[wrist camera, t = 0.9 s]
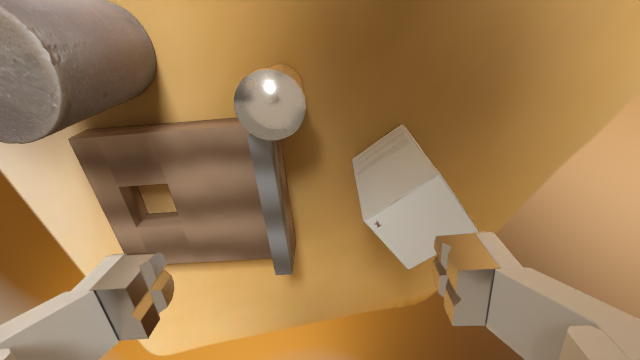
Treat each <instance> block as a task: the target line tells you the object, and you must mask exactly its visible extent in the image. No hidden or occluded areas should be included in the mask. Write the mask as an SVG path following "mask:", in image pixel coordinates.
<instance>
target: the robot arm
mask: <svg viewBox="0 0 640 360" xmlns="http://www.w3.org/2000/svg"><path fill="white" fill-rule="evenodd" d="M434 249H435V251H436V254H437V257H436V258H435V259H434V260H433V276H434V282H435V285H436V288H437V291H438V293H439V294H440V295H441V296H443V297H444V308H445V310H446V312H447V315H448V317H449V319H450V321H451V324H452V326H484V325H485V326H486V327H487V328H488V329H489V330H490V331H492V332H493V333H494V334H495V335H496V336H497V337H498V338H500V339H501V340H502V341H503V342H505V343H506V344H507V345H508V346H509V347H510V348H512V349H513V350H514V351H515V352H516V353H518V354H519V355H520V356H521V357H523V358H524V359H525V360H640V319H638V318H635V317H634V316H631V315H629V314H627V313H625V312H622V311H621V310H619V309H617V308H614V307H612V306H610V305H608V304H606V303H604V302H602V301H599V300H597V299H595V298H593V297H591V296H589V295H587V294H585V293H582V292H580V291H578V290H576V289H574V288H572V287H570V286H568V285H566V284H564V283H561V282H559V281H557V280H555V279H553V278H551V277H549V276H547V275H544V274H542V273H540V272H538V271H536V270H534V269H531V268H523V267H522V265H521V264H520V263H519V262H518V261H517V260H516V259H515V258H514V256H513V255H512V254H511V252H510V251H509V250H508V249H507V248H506V247H505V245H504V244H503V243H502V242H501V241H500V240H499V238H498V237H497V236H496V235H495V234H494V233H493V232H491V231H486V232H475V233H468V234H455V235H441V236H436V237H435V240H434ZM166 265H167V262H166V260H165V257H164V255H163V254H161V253H159V252H155V253H129V254H113V255H110V256H107V257H106V258H105V259H104V260H103V261H102V262H101V263H100V264H99V265H97V266H96V267H95V268H94V269H93V270H92V271H91V272H90V273H89V274H88V275H87V276H86V277H85V278H84V279H83V280H82V281H81V282H80V283H79V284H78V285H77V286H76V287H75V288H73V289H72V290H71V291H70V292H64V293H62V294H60V295H58V296H56V297H54V298H52V299H51V300H49V301H47V302H45V303H43V304H41V305H39V306H37V307H35V308H33V309H31V310H29V311H27V312H25V313H23V314H21V315H19V316H18V317H16V318H14V319H12V320H10V321H8V322H6V323H4V324H2V325H0V360H98V359H100V358H101V357H102V356H103V355H104V354H105V353H107V352H108V351H109V350H110V349H111V348H112V347H114V346H115V345H116V344H117V343H119V341H121V340H135V339H148V338H149V336H150V335H151V333H152V331H153V330H154V328H155V327H156V325H157V323H158V322H159V320H160V317H159V313H160V312H161V311H163V310H164V309H165V308H167V307H168V305H169V304H170V302H171V300H172V297H173V293H174V282H173V279H172V276H171V275H170V274H169V273H168V272H167V271H165V270H164V269H165V267H166Z"/></svg>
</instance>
